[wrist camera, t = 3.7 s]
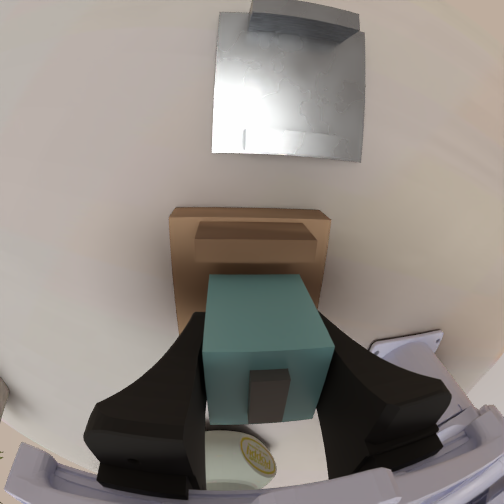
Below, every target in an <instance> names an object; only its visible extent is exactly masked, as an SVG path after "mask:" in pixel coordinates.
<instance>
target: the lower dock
mask: <svg viewBox="0 0 504 504" xmlns="http://www.w3.org/2000/svg"><path fill="white" fill-rule="evenodd" d="M364 108H365V34H364V32H360V23H359V14H356V13H353V12H349V11H345V10H341V9H337V8H333V7H329V6H324V5H319V4H314V3H309V2H303V1H297V0H252V3H251V7H250V12H249V13H241V12H220V16H219V28H218V40H217V55H216V71H215V89H214V111H213V140H212V153H254V154H275V155H291V156H304V157H316V158H326V159H335V160H344V161H352V162H360V163H361V155H362V143H363V128H364Z"/></svg>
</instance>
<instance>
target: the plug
mask: <svg viewBox="0 0 504 504" xmlns="http://www.w3.org/2000/svg"><path fill="white" fill-rule="evenodd" d="M334 348H335V346H334V343H333V341H332V339H331V337H330V335H329V333H328V331H327V329H326V327H325V325H324V323H323V321H322V319H321V317H320V315H319V313H318V311H317V309H316V307H315V305H314V303H313V301H312V299H311V297H310V295H309V293H308V291H307V289H306V287H305V285H304V283H303V281H302V279H301V277H300V275H299V274H262V275H225V274H209V283H208V293H207V303H206V314H205V325H204V337H203V349H202V354H203V365H204V376H205V385H206V395H207V403H208V412H209V420H210V425H239V424H262V423H276V422H288V421H297V420H306V419H312V418H313V415H314V412H315V409H316V406H317V403H318V401H319V398H320V394H321V391H322V388H323V385H324V382H325V379H326V376H327V372H328V369H329V366H330V362H331V359H332V355H333V352H334Z"/></svg>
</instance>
